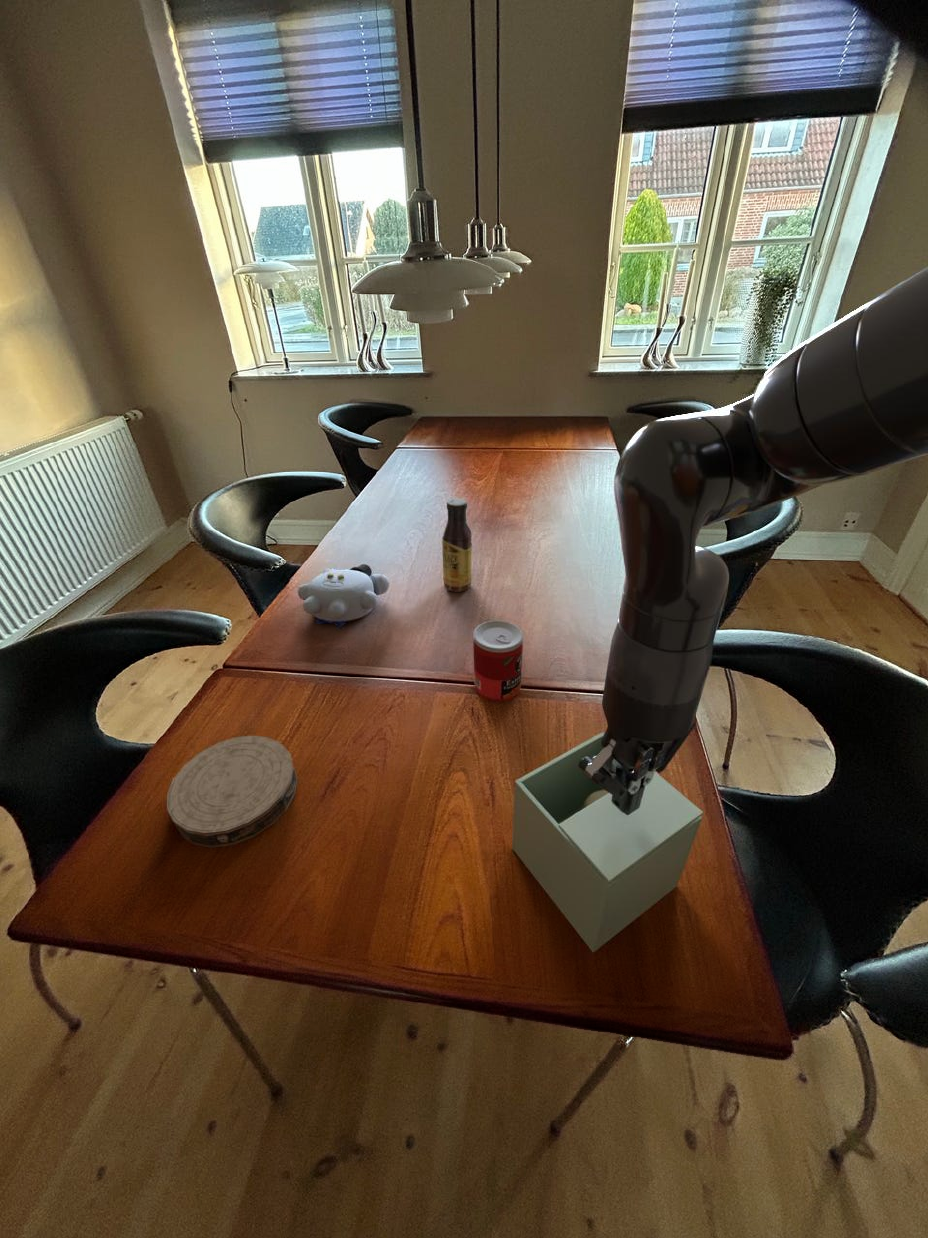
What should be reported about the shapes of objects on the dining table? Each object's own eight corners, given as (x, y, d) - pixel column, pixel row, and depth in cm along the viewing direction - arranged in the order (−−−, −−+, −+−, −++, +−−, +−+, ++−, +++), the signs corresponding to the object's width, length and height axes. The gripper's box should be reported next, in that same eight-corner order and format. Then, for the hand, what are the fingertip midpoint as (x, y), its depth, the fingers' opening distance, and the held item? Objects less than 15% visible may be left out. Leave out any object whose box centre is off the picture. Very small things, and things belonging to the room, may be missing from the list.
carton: (677, 885, 60) (702, 817, 53) (593, 953, 54) (608, 887, 47) (591, 798, 70) (602, 732, 63) (512, 848, 64) (514, 781, 57)
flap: (702, 814, 53) (703, 812, 53) (608, 883, 47) (609, 881, 47) (649, 769, 58) (649, 767, 57) (558, 827, 52) (558, 824, 52)
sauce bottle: (438, 585, 117) (432, 500, 106) (460, 576, 120) (457, 492, 109) (456, 597, 113) (452, 509, 102) (478, 587, 116) (477, 501, 105)
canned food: (509, 709, 84) (511, 654, 78) (465, 693, 88) (463, 640, 81) (528, 680, 90) (531, 627, 84) (486, 667, 93) (485, 615, 87)
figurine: (363, 637, 101) (403, 594, 118) (359, 597, 97) (400, 558, 114) (284, 625, 105) (332, 585, 122) (276, 586, 101) (328, 550, 118)
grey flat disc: (183, 764, 77) (176, 749, 75) (296, 739, 80) (291, 725, 79) (163, 862, 64) (155, 848, 62) (298, 828, 68) (293, 813, 66)
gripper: (632, 732, 37) (603, 870, 47) (747, 665, 43) (701, 801, 53) (562, 675, 43) (549, 810, 52) (672, 622, 48) (642, 753, 58)
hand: (625, 805), depth 53 cm, fingers closed
